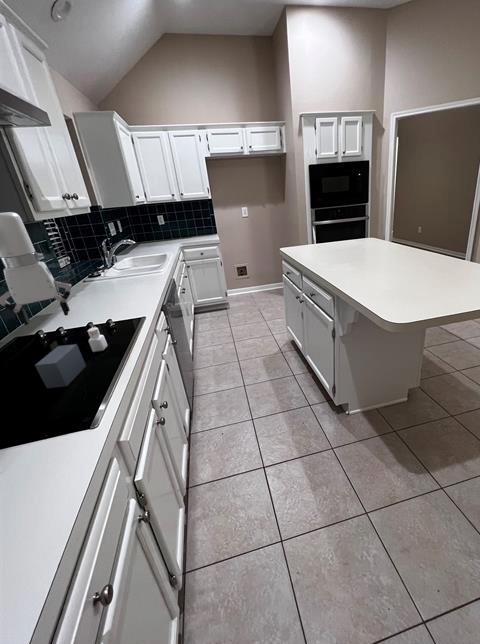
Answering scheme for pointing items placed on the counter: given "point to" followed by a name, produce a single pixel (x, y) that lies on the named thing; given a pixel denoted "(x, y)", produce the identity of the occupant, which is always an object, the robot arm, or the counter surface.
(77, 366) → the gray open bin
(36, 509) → the counter surface
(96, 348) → the pepper shaker
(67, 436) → the counter surface
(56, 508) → the counter surface
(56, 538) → the counter surface
